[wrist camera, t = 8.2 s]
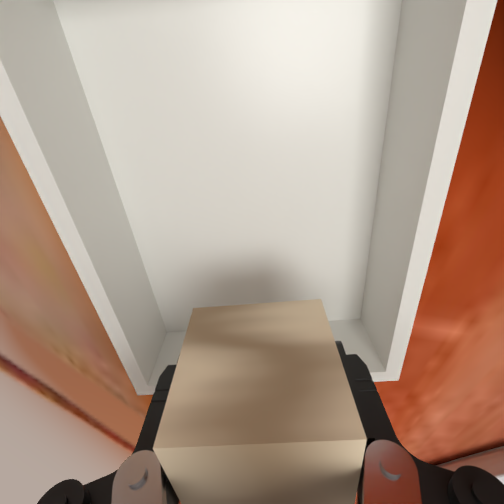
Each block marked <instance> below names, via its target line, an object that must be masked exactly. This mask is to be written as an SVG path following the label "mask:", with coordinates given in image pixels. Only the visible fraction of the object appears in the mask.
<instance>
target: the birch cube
mask: <svg viewBox="0 0 504 504" xmlns="http://www.w3.org/2000/svg"><path fill="white" fill-rule="evenodd" d="M366 442H367V438H366V435H365V432H364V429H363V426H362V423H361V420H360V416H359V413H358V410H357V407H356V404H355V401H354V398H353V395H352V392H351V389H350V386H349V383H348V380H347V377H346V374H345V371H344V368H343V364H342V361H341V358H340V355H339V352H338V349H337V346H336V343H335V340H334V337H333V334H332V331H331V328H330V325H329V322H328V319H327V316H326V312H325V309H324V306H323V303H322V300H321V299H314V300H299V301H285V302H271V303H257V304H243V305H229V306H215V307H201V308H193V310H192V314H191V317H190V321H189V324H188V327H187V331H186V334H185V338H184V341H183V345H182V348H181V352H180V355H179V359H178V362H177V366H176V369H175V373H174V376H173V380H172V383H171V387H170V390H169V394H168V397H167V401H166V404H165V408H164V411H163V415H162V418H161V421H160V425H159V428H158V432H157V435H156V439H155V442H154V446H153V450H154V452H155V454H156V456H157V458H158V460H159V462H160V464H161V466H162V467H163V469H164V471H165V473H166V475H167V477H168V479H169V481H170V483H171V485H172V487H173V489H174V490H175V492H176V494H177V496H178V498H179V500H180V502H181V504H354V503H355V498H356V493H357V488H358V483H359V477H360V472H361V467H362V462H363V457H364V452H365V447H366Z"/></svg>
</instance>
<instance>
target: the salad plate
mask: <svg viewBox="0 0 504 504" xmlns="http://www.w3.org/2000/svg"><path fill="white" fill-rule="evenodd" d="M465 465H470V466H476V467H479V468H481V469H483V470H486V471H487V472H489V473H491V474H492V475H493V476H495V477H496V478H497V479H499V480H500V481H501V482H502V483H503V484H504V446H501V447H498V448H494V449H491V450H487V451H483V452H480V453H476V454H473V455H469V456H466V457H463V458H459V459H456V460H452V461H449V462H446V463H442V464H439V465H435V466H438V467H442V468H445V469H448V470H451V471H456V470H457V469H458V468H459V467H461V466H465Z"/></svg>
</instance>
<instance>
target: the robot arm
mask: <svg viewBox="0 0 504 504" xmlns="http://www.w3.org/2000/svg"><path fill="white" fill-rule="evenodd" d="M335 343H336V346H337V349H338V352H339V355H340V358H341V361H342V364H343V368H344V371H345V374H346V377H347V380H348V383H349V386H350V389H351V392H352V395H353V398H354V401H355V404H356V407H357V410H358V413H359V416H360V420H361V423H362V426H363V429H364V432H365V435H366V438H367V442H366V447H365V452H364V457H363V462H362V467H361V472H360V477H359V483H358V488H357V499H356V504H504V484H503V483H502V482H501V481H500V480H499V479H497V478H496V477H495V476H493V475H492V474H491V473H489V472H487V471H486V470H483V469H481V468H479V467H476V466H470V465H465V466H461V467H459V468H458V469H457V470H456V471H451V470H448V469H445V468H442V467H438V466H435V465H432V464H429V463H426V462H423V461H421V460H419V459H417V458H416V457H414V456H413V455H412V454H410V453H409V452H408V451H407V450H406V449H405V448H404V447H403V446H402V444H401V443H400V442H399V440H398V439H397V437H396V435H395V432H394V430H393V428H392V425H391V423H390V420H389V418H388V416H387V413H386V411H385V408H384V406H383V403H382V401H381V399H380V396H379V394H378V392H377V389H376V387H375V384H374V382H373V381H372V377H371V374H370V372H369V370H368V367H367V365H366V364H365V363H364V362H363V361H362V359H361V358H360V357H359V356H358V355H357V354H348V355H346V353H345V350H344V347H343V344H342V342H341V341H335ZM179 355H180V354H179ZM178 359H179V357H178ZM177 362H178V360H177ZM176 366H177V364H176V365H168V366H167V367H166V368H165V370H164V371H163V372H162V374H161V375H160V376H159V379H158V382H157V385H156V388H155V392H154V394H153V397H152V400H151V403H150V406H149V409H148V412H147V415H146V418H145V421H144V424H143V427H142V430H141V433H140V436H139V439H138V442H137V445H136V447H135V450H134V452H133V453H132V455H131V456H129V457H128V458H127V459H126V460H125V461H124V462H123V463H122V465H121V466H120V467H119V469H118V470H116V471H115V472H113V473H111V474H109V475H107V476H105V477H102V478H100V479H98V480H95V481H93V482H90V483H88V484H86V485H82V484H81V483H80V482H79V481H77V480H74V479H69V480H64V481H62V482H60V483H58V484H56V485H55V486H54V487H52V488H51V489H50V490H49V491H47V492H46V494H45V495H44V496H43V497H42V498H41V499H40V500H39V502H38V503H37V504H181V503H180V500H179V498H178V496H177V494H176V492H175V490H174V489H173V487H172V485H171V483H170V481H169V479H168V477H167V475H166V473H165V471H164V469H163V467H162V466H161V464H160V462H159V460H158V458H157V456H156V454H155V452H154V450H153V446H154V442H155V439H156V435H157V432H158V428H159V425H160V421H161V418H162V415H163V411H164V408H165V404H166V401H167V397H168V394H169V390H170V387H171V383H172V380H173V376H174V373H175V369H176Z"/></svg>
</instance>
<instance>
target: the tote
mask: <svg viewBox="0 0 504 504" xmlns="http://www.w3.org/2000/svg"><path fill="white" fill-rule="evenodd" d="M496 3H497V0H0V116H1V118H2V120H3V122H4V124H5V126H6V128H7V130H8V132H9V134H10V136H11V138H12V141H13V143H14V145H15V147H16V149H17V151H18V153H19V155H20V157H21V159H22V161H23V163H24V165H25V167H26V169H27V171H28V173H29V175H30V177H31V179H32V181H33V183H34V185H35V187H36V189H37V191H38V193H39V195H40V197H41V199H42V202H43V204H44V206H45V208H46V210H47V212H48V214H49V216H50V218H51V220H52V222H53V224H54V226H55V228H56V230H57V232H58V234H59V236H60V238H61V240H62V242H63V244H64V246H65V248H66V250H67V252H68V254H69V256H70V258H71V260H72V262H73V265H74V267H75V269H76V271H77V273H78V275H79V277H80V279H81V281H82V283H83V285H84V287H85V289H86V291H87V293H88V295H89V297H90V299H91V301H92V303H93V305H94V307H95V309H96V311H97V313H98V315H99V317H100V319H101V321H102V323H103V326H104V328H105V330H106V332H107V334H108V336H109V338H110V340H111V342H112V344H113V346H114V348H115V350H116V352H117V354H118V356H119V358H120V360H121V362H122V364H123V366H124V368H125V370H126V372H127V374H128V376H129V378H130V380H131V382H132V384H133V386H134V389H135V391H136V393H137V395H152V394H154V392H155V388H156V385H157V382H158V379H159V376H160V375H161V374H162V372H163V371H164V370H165V368H166V367H167V366H168V365H176V364H177V360H178V357H179V354H180V352H181V348H182V345H183V341H184V338H185V334H186V331H187V327H188V324H189V321H190V317H191V314H192V310H193V308H201V307H215V306H229V305H243V304H257V303H271V302H285V301H299V300H314V299H321V300H322V303H323V306H324V309H325V312H326V316H327V319H328V322H329V325H330V328H331V331H332V334H333V337H334V340H335V341H341V342H342V344H343V347H344V350H345V353H346V355H348V354H357V355H358V356H359V357H360V358H361V359H362V361H363V362H364V363H365V364H366V365H367V367H368V370H369V372H370V374H371V377H372V381H373V382H378V381H396V380H399V377H400V373H401V369H402V365H403V361H404V357H405V354H406V350H407V346H408V342H409V338H410V334H411V331H412V327H413V323H414V319H415V315H416V311H417V307H418V304H419V300H420V296H421V292H422V288H423V284H424V281H425V277H426V273H427V269H428V265H429V261H430V257H431V254H432V250H433V246H434V242H435V238H436V234H437V230H438V227H439V223H440V219H441V215H442V211H443V207H444V204H445V200H446V196H447V192H448V188H449V184H450V180H451V177H452V173H453V169H454V165H455V161H456V157H457V154H458V150H459V146H460V142H461V138H462V134H463V130H464V127H465V123H466V119H467V115H468V111H469V107H470V103H471V100H472V96H473V92H474V88H475V84H476V80H477V77H478V73H479V69H480V65H481V61H482V57H483V53H484V50H485V46H486V42H487V38H488V34H489V30H490V27H491V23H492V19H493V15H494V11H495V7H496Z"/></svg>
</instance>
